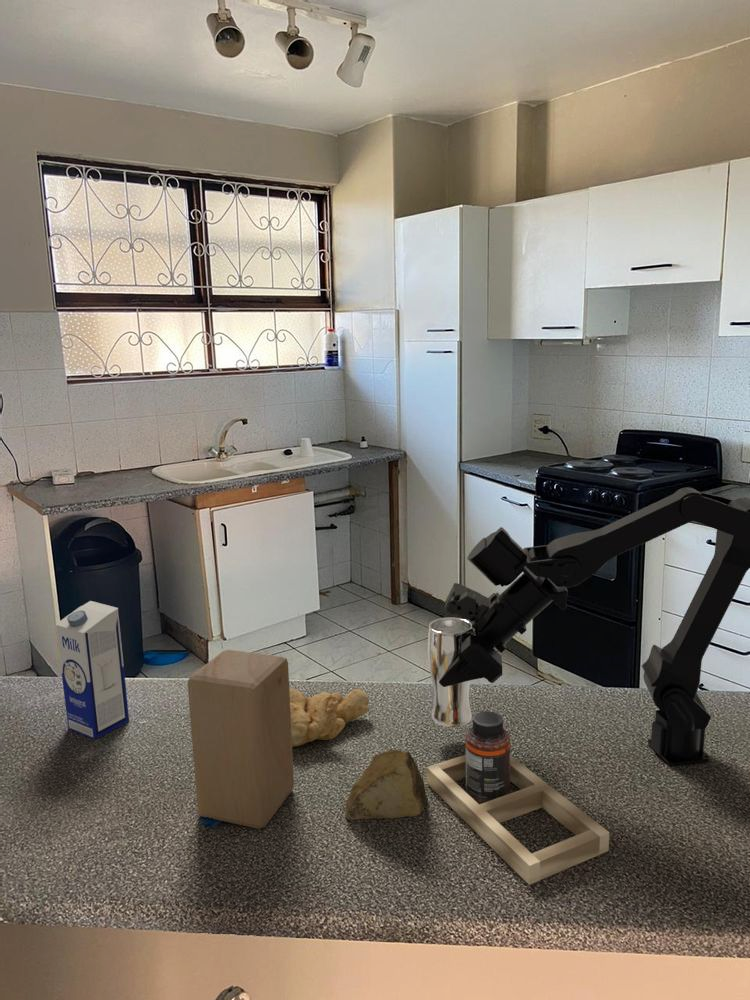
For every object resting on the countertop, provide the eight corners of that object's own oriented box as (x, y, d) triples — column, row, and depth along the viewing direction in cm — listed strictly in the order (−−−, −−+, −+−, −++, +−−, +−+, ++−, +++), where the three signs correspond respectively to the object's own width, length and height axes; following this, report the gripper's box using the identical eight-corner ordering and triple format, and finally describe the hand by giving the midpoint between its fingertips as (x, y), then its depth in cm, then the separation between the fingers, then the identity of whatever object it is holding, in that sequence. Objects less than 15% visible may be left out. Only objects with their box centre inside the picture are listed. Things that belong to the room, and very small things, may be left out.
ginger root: (239, 742, 113) (244, 690, 113) (287, 717, 128) (292, 671, 128) (333, 764, 108) (338, 709, 108) (372, 736, 123) (376, 687, 123)
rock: (328, 816, 94) (402, 823, 90) (336, 745, 97) (408, 749, 94) (361, 822, 103) (430, 828, 99) (367, 757, 106) (434, 760, 103)
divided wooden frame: (426, 783, 104) (426, 767, 104) (496, 760, 109) (497, 744, 109) (529, 885, 84) (529, 865, 84) (608, 850, 90) (609, 832, 89)
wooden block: (297, 788, 103) (290, 654, 99) (263, 833, 94) (255, 687, 90) (233, 776, 107) (224, 646, 102) (195, 818, 98) (183, 677, 93)
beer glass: (472, 730, 110) (472, 635, 107) (426, 727, 112) (424, 633, 108) (476, 708, 117) (475, 617, 114) (431, 704, 118) (430, 615, 115)
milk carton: (130, 721, 123) (118, 606, 118) (95, 740, 117) (82, 620, 113) (102, 710, 126) (90, 599, 122) (67, 728, 121) (53, 612, 117)
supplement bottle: (494, 776, 105) (495, 703, 103) (518, 799, 100) (520, 723, 98) (457, 787, 103) (457, 712, 101) (480, 811, 98) (480, 733, 95)
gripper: (477, 550, 118) (408, 615, 121) (477, 590, 99) (397, 664, 103) (527, 598, 118) (457, 661, 122) (536, 646, 100) (455, 718, 104)
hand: (442, 674), depth 113 cm, fingers closed on beer glass, 6 cm apart
